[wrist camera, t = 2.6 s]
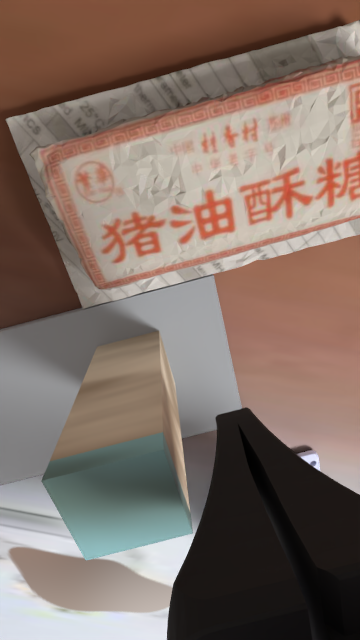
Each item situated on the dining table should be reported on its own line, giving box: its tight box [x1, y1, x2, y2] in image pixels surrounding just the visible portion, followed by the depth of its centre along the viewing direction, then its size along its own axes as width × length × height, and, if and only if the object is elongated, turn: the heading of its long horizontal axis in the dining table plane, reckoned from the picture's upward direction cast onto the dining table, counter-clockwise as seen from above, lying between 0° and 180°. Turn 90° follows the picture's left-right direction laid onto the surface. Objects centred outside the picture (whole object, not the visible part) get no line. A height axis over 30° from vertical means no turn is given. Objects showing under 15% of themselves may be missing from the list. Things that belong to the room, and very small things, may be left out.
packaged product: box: [6, 20, 360, 309], centre depth 15 cm, size 18×5×10 cm
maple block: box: [42, 331, 193, 560], centre depth 15 cm, size 4×4×10 cm
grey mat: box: [0, 274, 242, 485], centre depth 20 cm, size 11×22×1 cm, turn 104°
